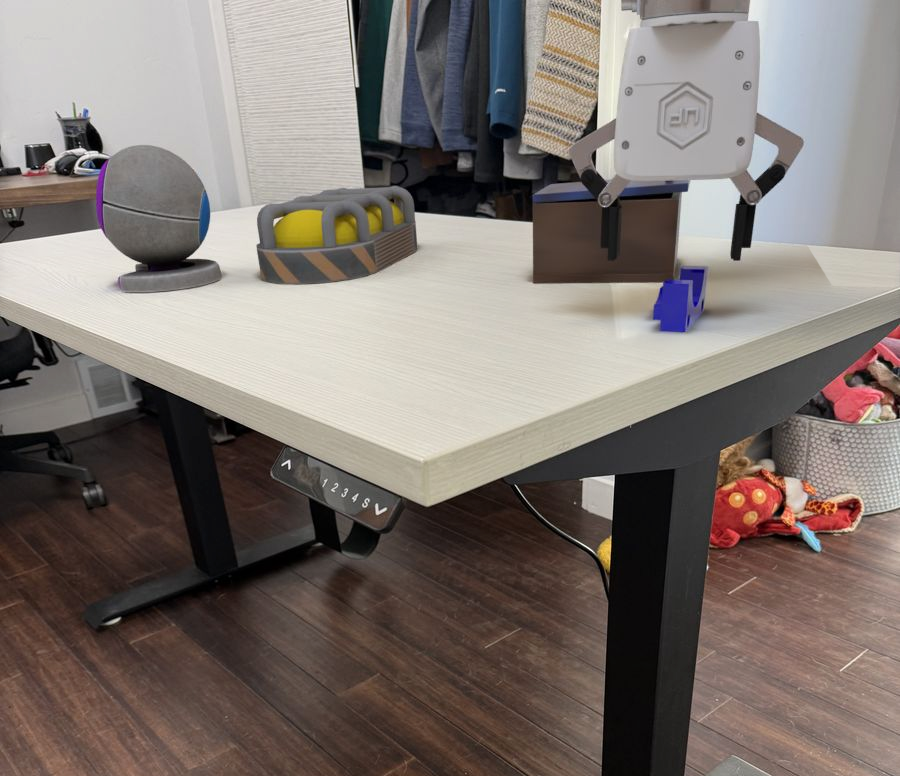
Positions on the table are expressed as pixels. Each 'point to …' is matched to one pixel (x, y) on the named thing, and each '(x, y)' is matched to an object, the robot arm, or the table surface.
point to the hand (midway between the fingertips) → (673, 258)
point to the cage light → (335, 235)
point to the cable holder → (681, 299)
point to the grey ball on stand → (155, 218)
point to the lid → (632, 189)
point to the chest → (579, 240)
